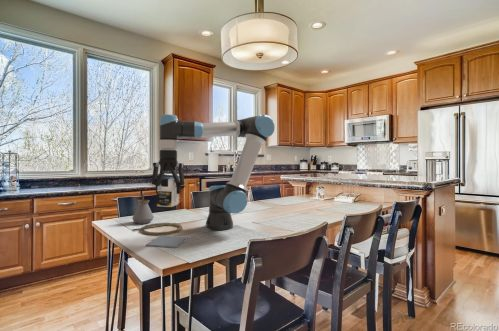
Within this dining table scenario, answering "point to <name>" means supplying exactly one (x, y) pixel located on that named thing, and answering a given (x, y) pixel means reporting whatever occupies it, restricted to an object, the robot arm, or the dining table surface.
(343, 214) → the dining table surface
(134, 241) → the dining table surface
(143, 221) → the coffee pot
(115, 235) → the dining table surface
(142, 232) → the woven rattan coaster
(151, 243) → the slate mat
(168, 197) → the medicine bottle
